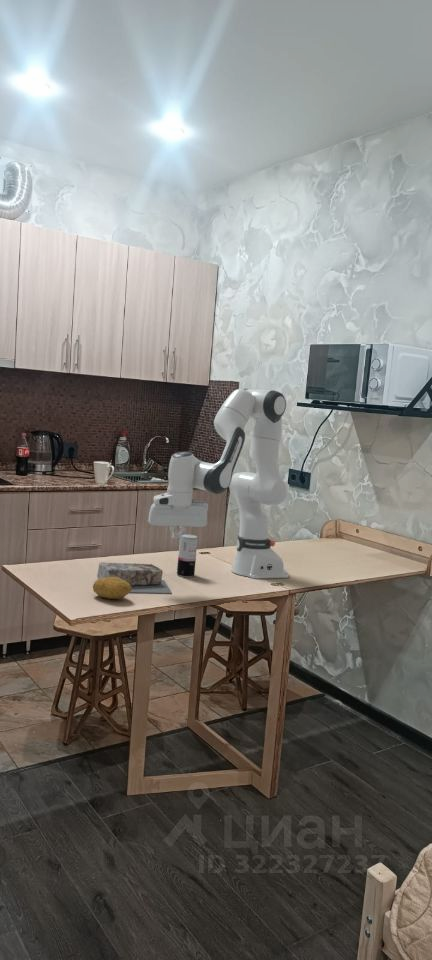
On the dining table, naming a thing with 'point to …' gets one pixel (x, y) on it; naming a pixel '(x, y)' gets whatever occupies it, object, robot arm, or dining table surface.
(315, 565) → the dining table surface
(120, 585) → the potato
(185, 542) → the beverage can
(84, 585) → the dining table surface
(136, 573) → the stone block
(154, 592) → the mat
